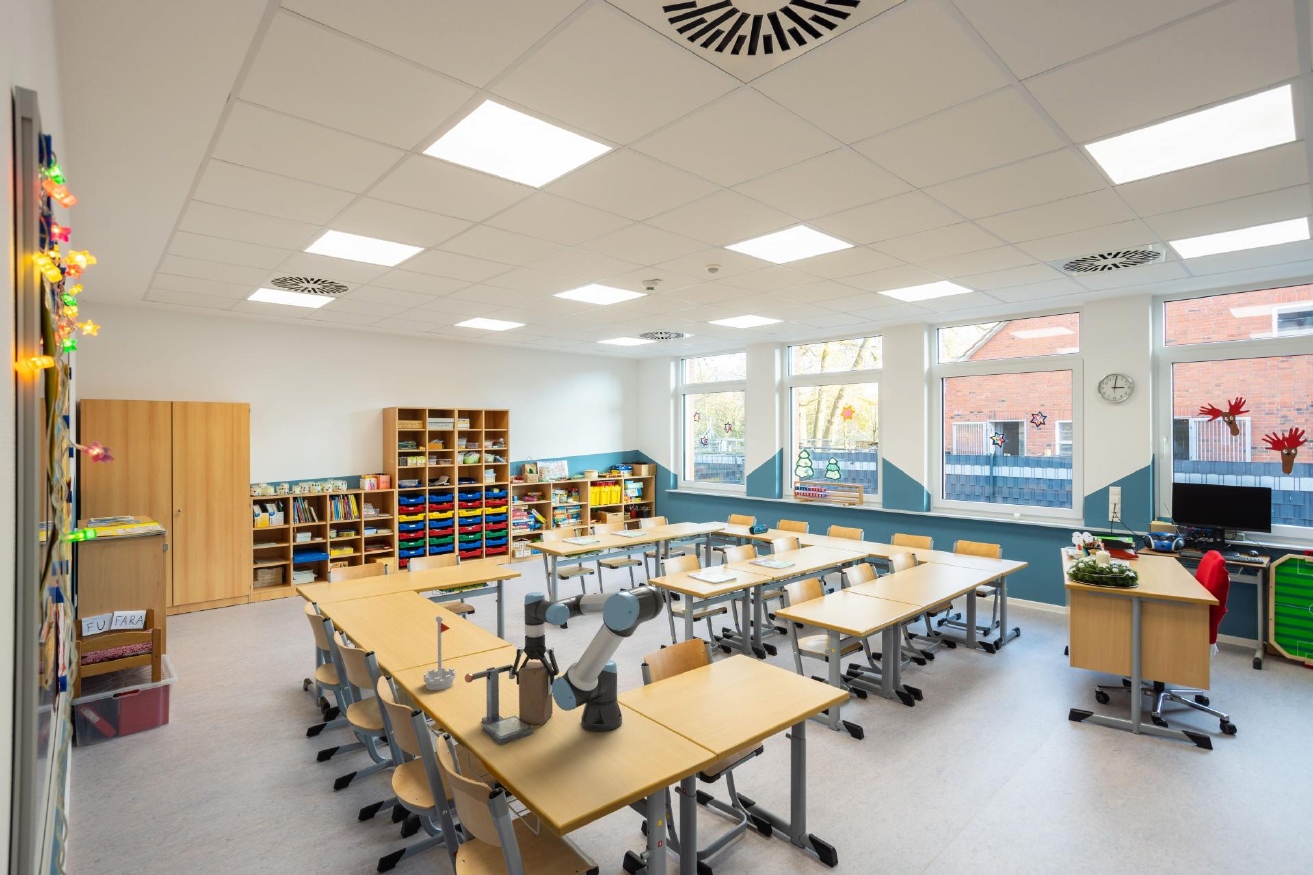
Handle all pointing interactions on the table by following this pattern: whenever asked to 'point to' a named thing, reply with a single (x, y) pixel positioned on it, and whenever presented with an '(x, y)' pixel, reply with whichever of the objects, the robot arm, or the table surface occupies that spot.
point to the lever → (471, 677)
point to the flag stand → (439, 666)
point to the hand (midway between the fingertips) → (535, 693)
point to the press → (495, 724)
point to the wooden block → (534, 694)
